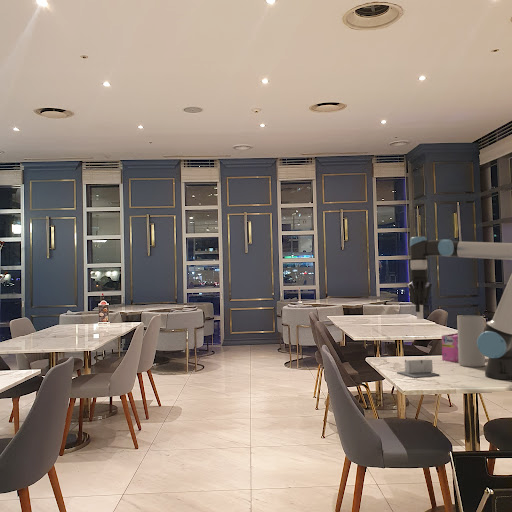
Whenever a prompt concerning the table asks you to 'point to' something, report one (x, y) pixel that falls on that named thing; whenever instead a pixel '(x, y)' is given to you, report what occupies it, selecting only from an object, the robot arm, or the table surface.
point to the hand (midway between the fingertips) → (420, 318)
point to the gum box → (450, 347)
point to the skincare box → (418, 365)
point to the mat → (418, 374)
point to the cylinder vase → (470, 341)
